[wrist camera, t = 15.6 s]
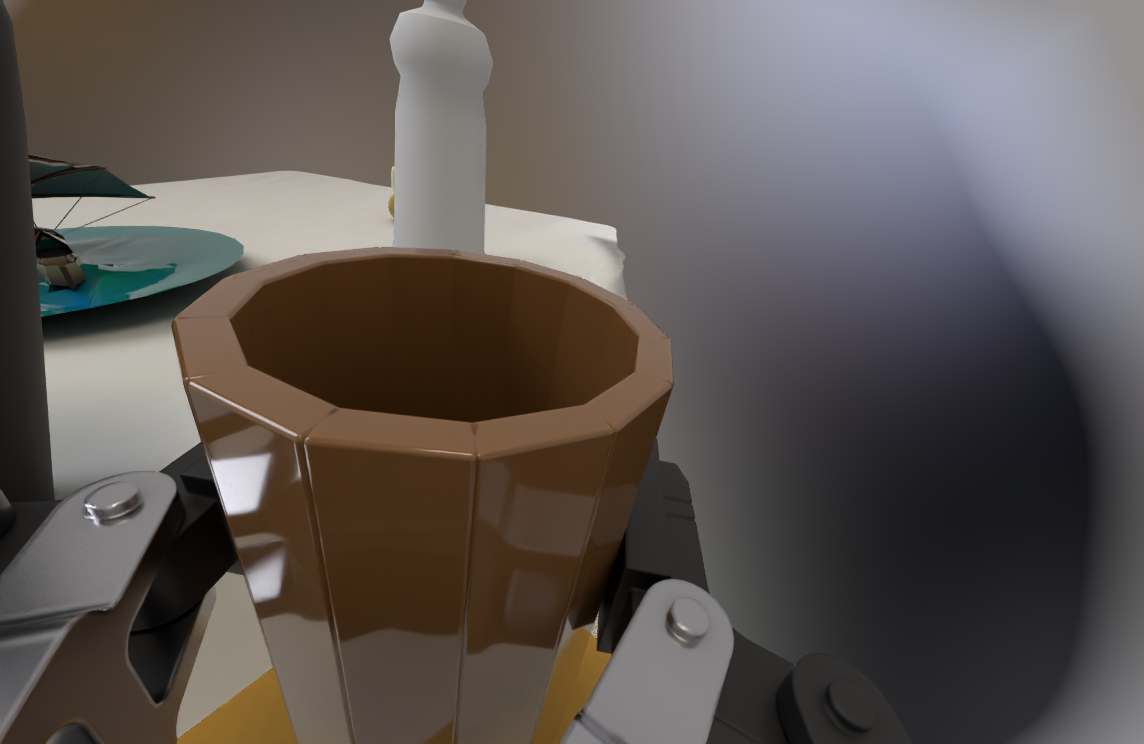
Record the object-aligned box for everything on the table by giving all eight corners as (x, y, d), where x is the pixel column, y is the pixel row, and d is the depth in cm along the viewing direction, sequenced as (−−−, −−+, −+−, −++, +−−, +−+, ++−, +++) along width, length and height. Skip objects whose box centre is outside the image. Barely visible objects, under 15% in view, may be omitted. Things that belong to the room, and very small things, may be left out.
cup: (606, 665, 12) (734, 334, 7) (414, 966, 7) (397, 606, 2) (458, 537, 14) (476, 236, 10) (249, 696, 10) (85, 273, 5)
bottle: (467, 297, 51) (483, -35, 37) (495, 330, 45) (527, -58, 30) (385, 300, 47) (366, -78, 32) (402, 337, 40) (388, -117, 26)
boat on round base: (194, 229, 56) (159, 131, 50) (298, 285, 42) (265, 160, 37) (-210, 275, 36) (-345, 123, 31) (-262, 408, 23) (-522, 177, 17)
